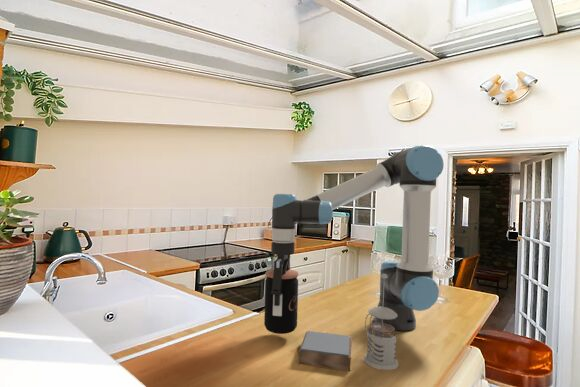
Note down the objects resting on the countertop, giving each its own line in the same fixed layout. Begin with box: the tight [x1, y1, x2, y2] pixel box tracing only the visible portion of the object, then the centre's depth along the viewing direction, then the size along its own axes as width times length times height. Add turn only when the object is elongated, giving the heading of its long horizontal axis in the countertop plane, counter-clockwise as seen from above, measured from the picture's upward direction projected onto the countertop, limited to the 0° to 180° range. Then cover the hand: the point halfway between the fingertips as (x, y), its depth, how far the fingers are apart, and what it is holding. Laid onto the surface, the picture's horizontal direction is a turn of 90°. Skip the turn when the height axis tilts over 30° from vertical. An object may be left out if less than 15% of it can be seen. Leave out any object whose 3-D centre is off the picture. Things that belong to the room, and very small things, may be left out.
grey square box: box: [298, 330, 352, 372], centre depth 98 cm, size 14×14×4 cm
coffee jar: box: [263, 268, 299, 335], centre depth 109 cm, size 11×11×18 cm
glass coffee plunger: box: [362, 274, 399, 371], centre depth 98 cm, size 10×12×25 cm
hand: (281, 309), depth 109 cm, fingers closed on coffee jar, 11 cm apart
